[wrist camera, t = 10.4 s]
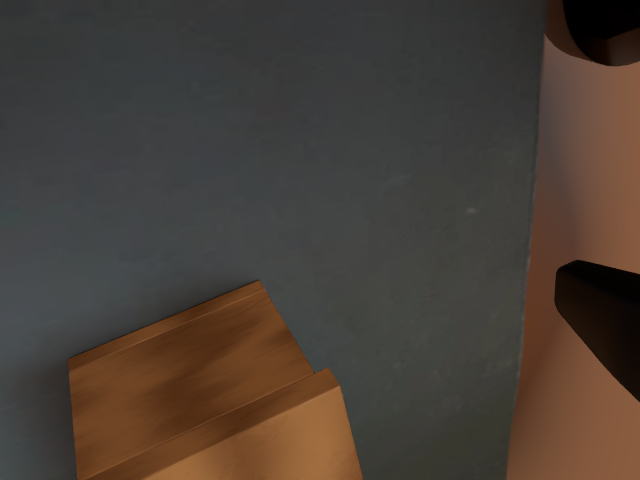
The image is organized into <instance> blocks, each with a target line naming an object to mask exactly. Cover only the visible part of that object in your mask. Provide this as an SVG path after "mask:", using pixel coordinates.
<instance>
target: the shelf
mask: <svg viewBox="0 0 640 480" xmlns="http://www.w3.org/2000/svg"><path fill="white" fill-rule="evenodd" d="M68 366H69V380H70V392H71V405H72V417H73V429H74V442H75V454H76V467H77V479H78V480H363V477H362V473H361V469H360V465H359V460H358V456H357V452H356V448H355V444H354V440H353V436H352V432H351V428H350V424H349V420H348V416H347V412H346V407H345V403H344V399H343V395H342V391H341V387H340V385H339V383H338V382H337V380H336V378H335V377H334V375H333V374H332V372H331V371H330V369H329V368H325V369H323V370H321V371H319V372H317V373H315V372H314V371H313V369H312V367H311V366H310V364H309V362H308V361H307V359H306V357H305V356H304V354H303V352H302V351H301V349H300V347H299V346H298V344H297V342H296V341H295V339H294V337H293V335H292V334H291V332H290V330H289V329H288V327H287V325H286V324H285V322H284V320H283V319H282V317H281V315H280V314H279V312H278V310H277V309H276V307H275V305H274V304H273V302H272V300H271V299H270V297H269V295H268V294H267V292H266V291H265V289H264V287H263V285H262V284H261V282H260V281H256V282H253V283H251V284H249V285H246V286H244V287H241V288H239V289H236V290H234V291H232V292H229V293H227V294H224V295H222V296H220V297H217V298H215V299H212V300H210V301H207V302H205V303H203V304H200V305H198V306H195V307H193V308H190V309H188V310H186V311H183V312H181V313H178V314H176V315H174V316H171V317H169V318H166V319H164V320H161V321H159V322H157V323H154V324H152V325H149V326H147V327H145V328H142V329H140V330H137V331H135V332H132V333H130V334H128V335H125V336H123V337H120V338H118V339H115V340H113V341H111V342H108V343H106V344H103V345H101V346H99V347H96V348H94V349H91V350H89V351H86V352H84V353H82V354H79V355H77V356H74V357H72V358H70V359H68Z"/></svg>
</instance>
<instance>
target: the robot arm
mask: <svg viewBox="0 0 640 480" xmlns="http://www.w3.org/2000/svg"><path fill="white" fill-rule="evenodd" d="M605 27H606V28H605ZM637 28H640V0H596V10H595V23H594V35H595V37H597V38H600V39H604V40H606V39H610V38H612V37H615V36H618V35H621V34H623V33H626V32H629V31H632V30H634V29H637ZM604 29H605V30H604ZM554 300H555V305H556V308H557V310H558V312H559V313H560V314H561V316H562V317H563V318H564V319H565V320H566V321H567V323H568V324H569V325H570V326H571V327H572V329H573V330H574V331H575V332H576V333H577V335H578V336H579V337H580V338H581V339H582V340H583V341H584V343H585V344H586V345H587V346H588V348H589V349H590V350H591V351H592V352H593V354H594V355H595V356H596V357H597V358H598V359H599V361H600V362H601V363H602V364H603V365H604V367H606V369H607V370H608V371H609V372H610V373H611V374H612V375H613V376H614V377H615V378H616V379H617V380H618V381H619V382H620V384H622V386H624V387H625V388H626V389H627V390H628V391H629V392H630V393H631V394H632V395H633V396H634V397H635V398H636V399H637V400H638V401H639V402H640V274H637V273H633V272H628V271H624V270H620V269H616V268H612V267H607V266H603V265H599V264H595V263H591V262H586V261H581V260H575V261H572V262H570V263H568V264H566V265H564V266H561V267H560V268H558V270H557V272H556V281H555V299H554Z"/></svg>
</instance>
